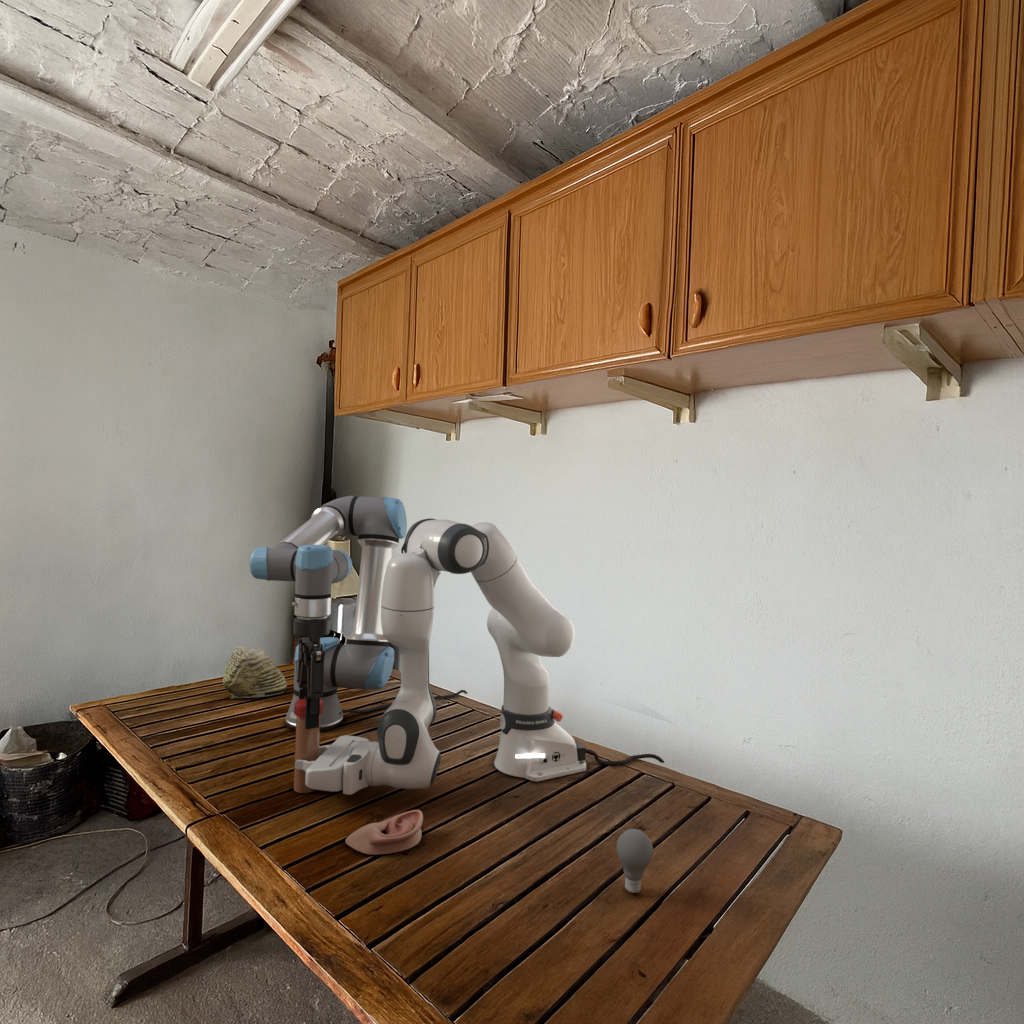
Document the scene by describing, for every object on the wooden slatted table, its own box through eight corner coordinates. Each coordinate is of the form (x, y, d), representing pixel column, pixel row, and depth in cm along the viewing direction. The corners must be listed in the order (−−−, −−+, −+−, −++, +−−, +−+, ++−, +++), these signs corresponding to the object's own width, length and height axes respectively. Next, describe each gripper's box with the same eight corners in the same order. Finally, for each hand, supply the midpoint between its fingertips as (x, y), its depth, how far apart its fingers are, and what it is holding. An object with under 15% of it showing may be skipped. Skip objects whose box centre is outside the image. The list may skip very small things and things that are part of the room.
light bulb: (610, 879, 108) (613, 822, 108) (644, 879, 109) (647, 822, 109) (619, 902, 102) (622, 840, 102) (655, 901, 103) (658, 840, 103)
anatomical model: (338, 827, 114) (365, 799, 125) (337, 849, 114) (364, 818, 125) (408, 839, 111) (429, 808, 122) (407, 861, 111) (428, 828, 122)
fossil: (218, 695, 195) (220, 647, 195) (278, 685, 208) (279, 640, 207) (228, 703, 189) (230, 653, 188) (289, 692, 201) (290, 645, 201)
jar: (313, 793, 135) (316, 710, 135) (290, 792, 135) (293, 709, 135) (320, 783, 140) (324, 703, 140) (298, 782, 140) (301, 702, 140)
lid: (303, 707, 141) (304, 696, 141) (328, 710, 139) (328, 699, 139) (288, 715, 135) (289, 704, 135) (313, 718, 134) (314, 707, 134)
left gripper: (285, 610, 143) (281, 711, 143) (304, 626, 127) (300, 740, 127) (319, 608, 147) (315, 707, 147) (341, 623, 131) (337, 735, 131)
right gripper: (380, 730, 146) (322, 726, 148) (348, 767, 126) (282, 761, 127) (379, 757, 146) (321, 752, 148) (347, 799, 126) (280, 792, 128)
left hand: (308, 722), depth 137 cm, fingers closed on lid, 6 cm apart
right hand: (302, 757), depth 137 cm, fingers closed on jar, 5 cm apart
